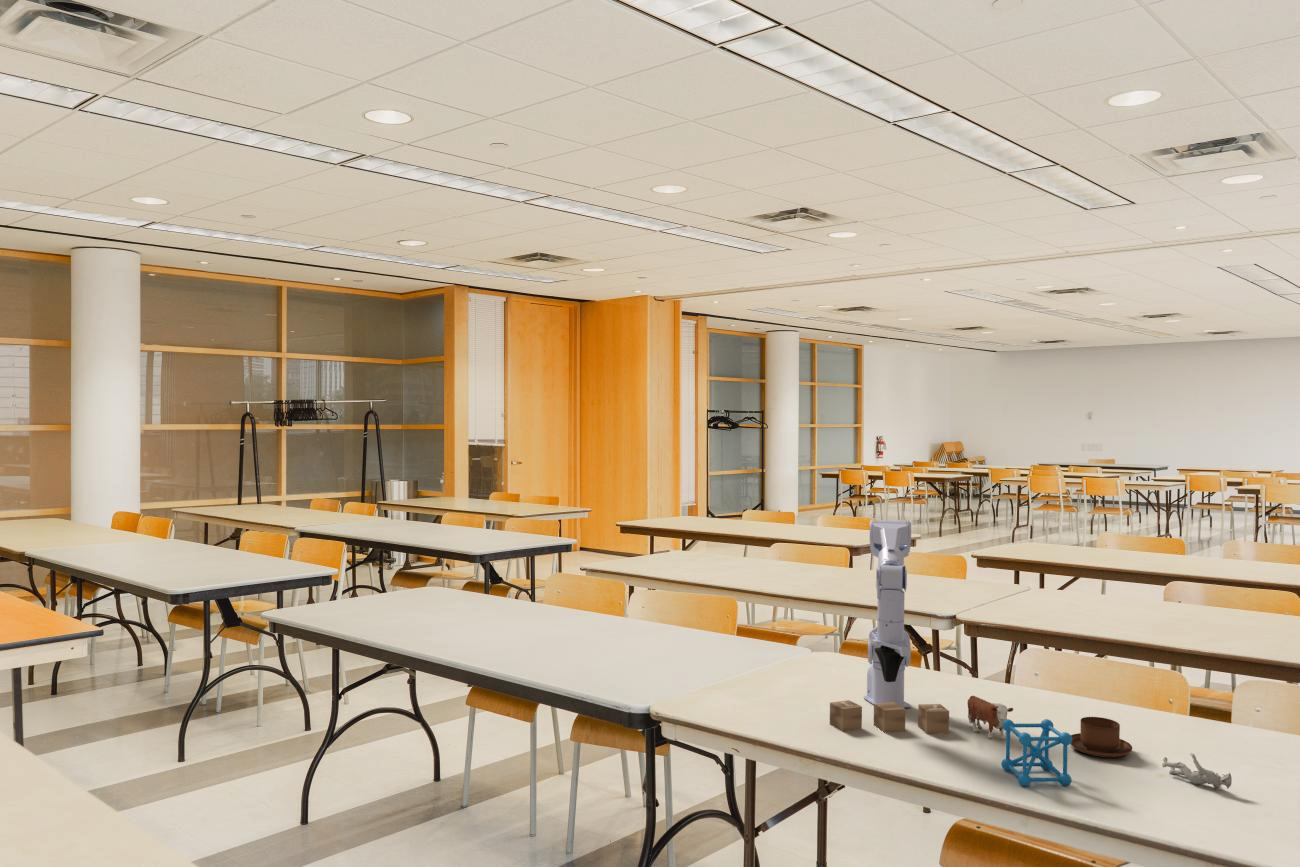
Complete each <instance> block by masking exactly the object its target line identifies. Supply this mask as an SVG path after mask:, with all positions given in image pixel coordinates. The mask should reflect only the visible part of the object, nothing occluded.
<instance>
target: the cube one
mask: <svg viewBox="0 0 1300 867" xmlns="http://www.w3.org/2000/svg"><path fill="white" fill-rule="evenodd" d="M829 725H830V726H831V727H833V726H834V727H833V728H835V729H837V730H839V731H841V732H848V731H847V730H850V731H854V729H857V730H862V729H861V728H863V727H862V725H863V706H862V705H860V704H857V703H855V702H854V701H851V700H849V699H848V700H839V701H832V702H829Z"/></svg>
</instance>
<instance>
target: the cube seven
mask: <svg viewBox="0 0 1300 867" xmlns="http://www.w3.org/2000/svg"><path fill="white" fill-rule="evenodd" d="M917 706H918V707H917V727H918V728H919V729H920V730H921V729H922V731H923V733H925V734H926V735H940V734H939V733H949V734H950V710H948V709H947V708H946V707H945V706H943V705H942V704H940V703H937V704H936V703H928V704H927V703H926V704H925V703H924V704H923V703H922V704H918V705H917Z"/></svg>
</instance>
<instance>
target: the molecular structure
mask: <svg viewBox="0 0 1300 867" xmlns="http://www.w3.org/2000/svg"><path fill="white" fill-rule="evenodd" d="M1002 728H1003V729H1004V731H1005V738H1006V740H1005V758H1003V759H1002V760H1001V762H1000V764H1001V768H1002V769H1003V770H1004V771H1006V772H1008V771H1011V772H1013V773H1014V774H1015V776H1016V777H1017V781H1018V784H1019V785H1020V786H1022V787H1028V786H1030V784H1031V783H1033V782H1037V783H1041V782H1044V783H1046V782H1048V783H1049V782H1050V783H1054V782H1056V783H1059V784H1060V785H1061V786H1063V787H1068V786H1070V785H1071V784H1072V782H1073V781H1072V780H1073V779H1072V777H1071V775H1070V774H1068V751H1069V750H1068V748H1069V747H1068V746H1071V743H1072V736H1071V735H1072V734H1070V733H1068V732H1060V731H1059V730H1057V729H1056V728H1054V723H1053V721H1052V720H1050V719H1047V718H1045V719H1043V720H1042V721H1040V723H1015V722H1014V721H1013V720H1011V719H1009V718H1007V719H1006V720H1004V721H1003V722H1002ZM1016 728H1041V729H1042V731H1041V733H1040V736H1031V734H1030V733H1028V732H1020V731H1019V730H1018V729H1016ZM1011 732H1012V733H1013V735H1015V736H1016V737H1017V739H1018V742H1019V743H1020V744H1021V745H1022V755H1021V756H1019V757H1017V758H1013V759H1010V758H1011V755H1010V754H1011ZM1050 732H1052V733H1054V734H1055V735H1057V736H1050ZM1032 742H1037V744H1036V745H1034V744H1032ZM1043 742H1044V745H1043V746H1042V744H1043ZM1049 742H1050V743H1049ZM1060 744H1061V745H1062V749H1063V752H1062V772H1061V771H1059V769H1058V768H1056V767H1055V766H1054V764H1053V761H1052V760H1051V759H1050V758H1049V755H1050V753H1049V752H1050V749H1051V748H1053V747H1055V746H1057V745H1058V746H1059V745H1060ZM1028 749H1029V752H1028ZM1043 752H1044V755H1043ZM1029 758H1030V760H1029V761H1028V759H1029ZM1036 759H1038V760H1039V762H1035V761H1036ZM1021 761H1022V762H1021ZM1015 767H1022V771H1021V773H1020V771H1018V769H1016V768H1015ZM1033 767H1040V768H1041V769H1042V770H1044V771H1046V772H1048V771H1051V772H1052V773H1053V774H1054V775H1056V776H1057V777H1031V776H1030V773H1031V771H1032V769H1033Z"/></svg>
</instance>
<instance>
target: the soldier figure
mask: <svg viewBox="0 0 1300 867" xmlns="http://www.w3.org/2000/svg"><path fill="white" fill-rule="evenodd" d="M1189 756H1191V757H1192V760H1193V761H1192V762H1193V763H1194V766H1195V768H1196V769H1197V770H1193V771H1192V770H1191V768H1189V767H1188V766H1187V765H1186V764H1185V763H1183V762H1181V761H1178V762H1169V761H1168V758H1167V757H1166V756H1165V757H1163V763H1162V767H1163V768H1166V767H1168V768H1170V770H1169V772H1168V773H1169V775H1179V776H1185V778H1186V779H1188V781H1189V782H1191V783H1192V784H1193V785H1195V786H1196V785H1197V786H1201V785H1205V784H1207V785H1211V786H1213V787H1214V788H1215V787H1216V789H1218V788H1219V787H1221V786H1222V785H1223V786H1225V787H1226V788H1227V790H1229V788H1230V787H1231V786H1232V774H1231V772H1228V773H1226V774H1220V775H1219V773H1217V772H1214V771H1213V770H1209V769H1207V768H1203V767H1202V766H1201V764H1200V763H1199V761H1198V760H1197V757H1196V755H1195V754H1194V753H1192V752H1191V753H1189ZM1178 769H1179V770H1178Z"/></svg>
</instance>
